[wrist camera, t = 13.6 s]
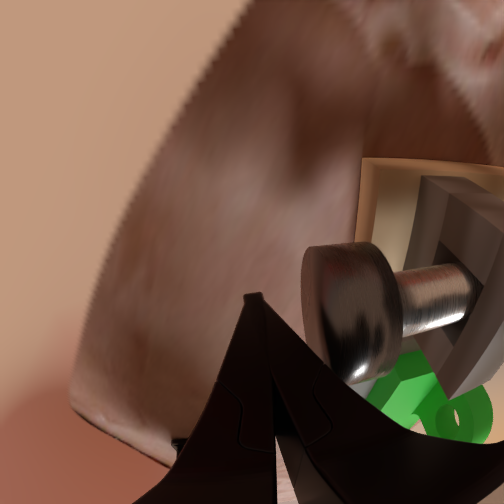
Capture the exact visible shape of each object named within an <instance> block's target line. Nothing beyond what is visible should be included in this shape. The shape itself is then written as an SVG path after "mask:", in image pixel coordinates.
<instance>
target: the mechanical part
mask: <svg viewBox="0 0 504 504" xmlns="http://www.w3.org/2000/svg"><path fill="white" fill-rule="evenodd" d="M366 400H367V401H368V402H370V403H371V404H372V405H374V406H375V407H376V408H378V409H379V410H380V411H382V412H383V413H384V414H386V415H387V416H388V417H390V418H391V419H393V420H394V421H395V422H397V423H398V424H400V425H401V426H403V427H405V428H407V429H410V428H411V427H412V426H413V425H414V424H415V423H416V422H417V421H418V420H419V419H421V422H422V424H423V426H424V428H425V431H426V434H427V435H429V436H435V437H440V438H445V439H451V440H457V441H464V442H471V443H479V444H483V443H484V441H485V440H486V438H487V437H488V435H489V433H490V431H491V427H492V422H493V409H492V405H491V401H490V398H489V396H488V394H487V392H486V390H485V389H484V387H483V385H480V386H478V387H476V388H474V389H472V390H470V391H468V392H466V393H464V394H462V395H460V396H458V397H455V398H453V399H451V400H449V401H448V399H447V397H446V395H445V393H444V391H443V389H442V387H441V385H440V383H439V381H438V380H437V378H436V376H435V374H434V372H433V370H432V368H431V366H430V365H429V363H428V361H427V359H426V357H425V356H424V354H423V352H422V350H418V351H414V352H410V353H406V354H402V355H399V357H398V360H397V362H396V364H395V366H394V368H393V369H392V371H391V372H390V373H389V374H388V375H386V376H384V377H382V378H378V379H377V381H376V383H375V384H374V386H373V388H372V390H371V391H370V393H369V395H368V396H367V398H366ZM454 409H455V410H456V412H457V414H458V417H459V426H458V425H457V423H456V420H455V415H454Z"/></svg>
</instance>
